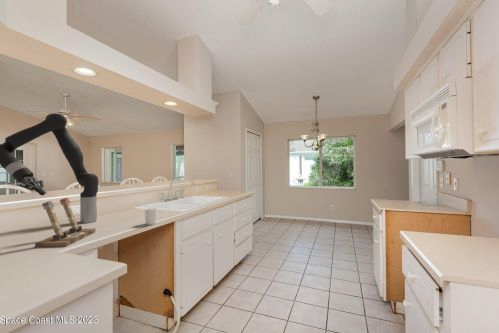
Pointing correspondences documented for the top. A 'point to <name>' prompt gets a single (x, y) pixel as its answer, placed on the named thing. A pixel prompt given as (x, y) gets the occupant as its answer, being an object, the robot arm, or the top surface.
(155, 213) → the white cup
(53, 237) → the switch board
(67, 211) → the terracotta lever
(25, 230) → the top surface
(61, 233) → the slate lever
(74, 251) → the top surface
